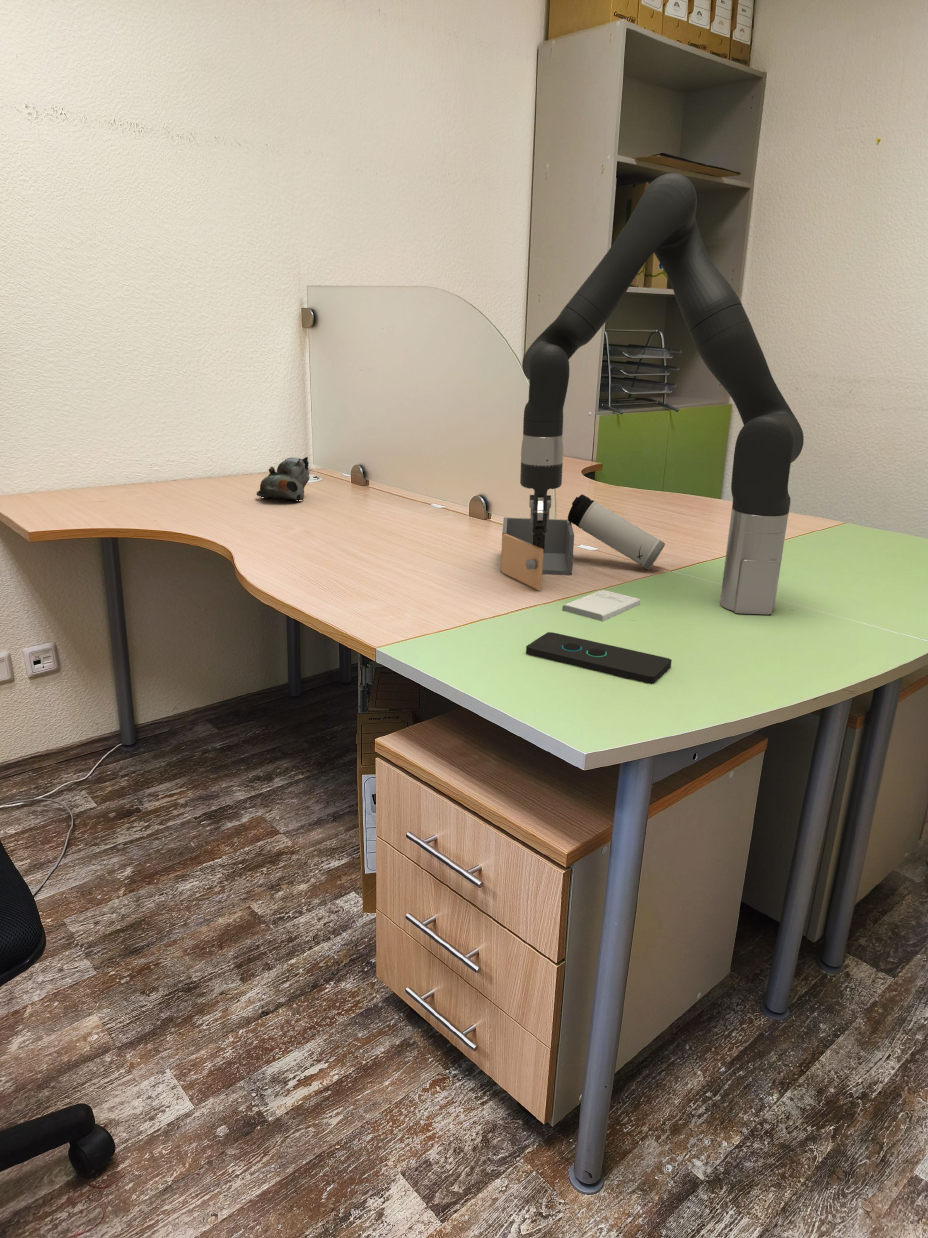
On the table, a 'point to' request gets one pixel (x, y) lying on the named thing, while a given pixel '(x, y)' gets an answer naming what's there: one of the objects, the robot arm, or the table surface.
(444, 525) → the table surface
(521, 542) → the side door
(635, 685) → the table surface
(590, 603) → the external hard drive
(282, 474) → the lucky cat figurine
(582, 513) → the travel mug
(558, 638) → the smart home device
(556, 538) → the storage box
